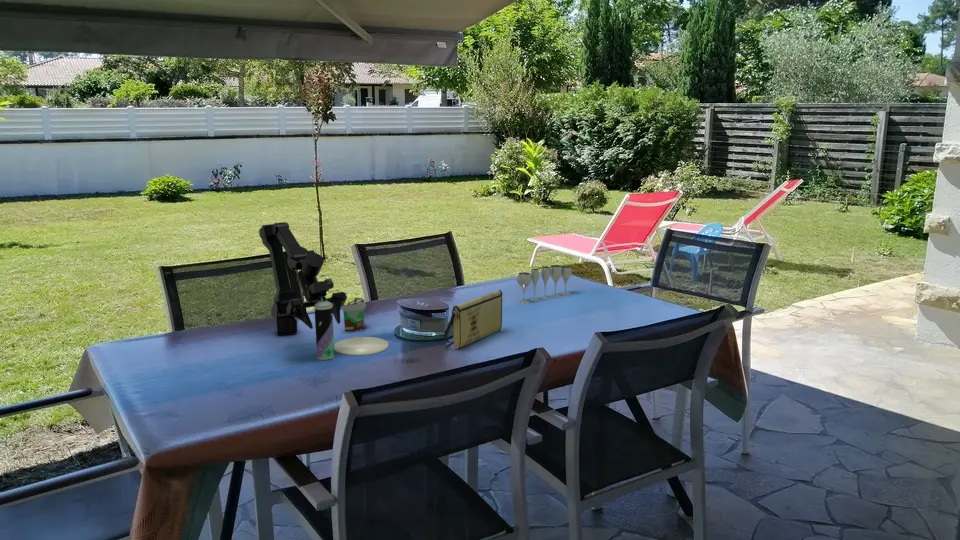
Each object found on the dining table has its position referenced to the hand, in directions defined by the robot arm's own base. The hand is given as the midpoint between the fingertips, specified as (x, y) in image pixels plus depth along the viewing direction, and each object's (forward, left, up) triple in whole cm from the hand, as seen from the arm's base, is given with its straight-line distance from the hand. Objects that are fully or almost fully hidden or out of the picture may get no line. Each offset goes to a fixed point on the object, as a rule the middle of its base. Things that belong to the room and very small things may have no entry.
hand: (325, 325), depth 229 cm
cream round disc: (+12, +9, -11) cm, 18 cm away
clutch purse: (+50, +8, -11) cm, 52 cm away
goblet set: (+93, +55, -11) cm, 108 cm away
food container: (+13, +31, -11) cm, 35 cm away
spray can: (0, +1, -11) cm, 11 cm away
